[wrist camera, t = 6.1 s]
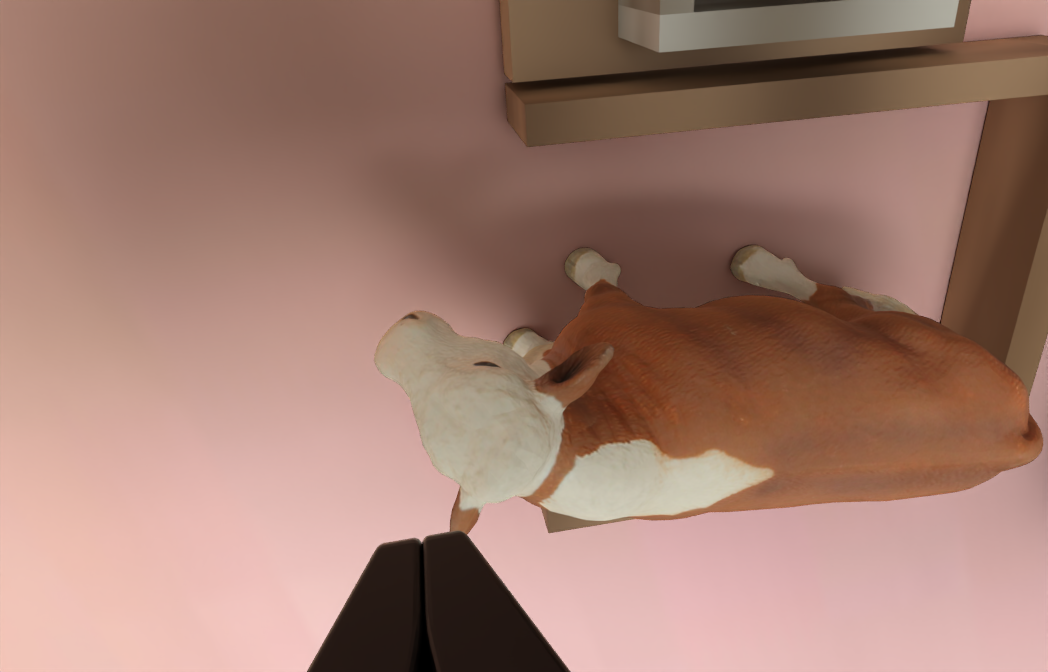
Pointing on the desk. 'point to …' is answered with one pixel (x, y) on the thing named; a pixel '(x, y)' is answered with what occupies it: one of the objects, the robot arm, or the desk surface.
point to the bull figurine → (710, 402)
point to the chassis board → (809, 112)
